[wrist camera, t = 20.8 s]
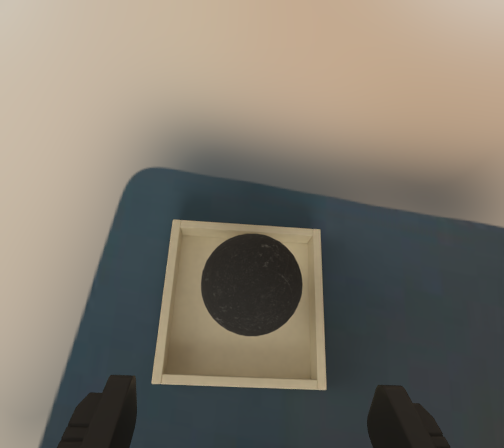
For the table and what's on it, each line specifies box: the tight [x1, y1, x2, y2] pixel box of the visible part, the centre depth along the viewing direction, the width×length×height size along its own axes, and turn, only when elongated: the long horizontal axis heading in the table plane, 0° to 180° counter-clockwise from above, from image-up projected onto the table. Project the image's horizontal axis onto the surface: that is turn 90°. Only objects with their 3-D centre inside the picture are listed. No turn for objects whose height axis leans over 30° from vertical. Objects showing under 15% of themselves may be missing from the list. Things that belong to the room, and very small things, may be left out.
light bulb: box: [201, 233, 303, 336], centre depth 22 cm, size 6×6×10 cm
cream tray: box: [152, 220, 327, 390], centre depth 26 cm, size 11×11×2 cm
